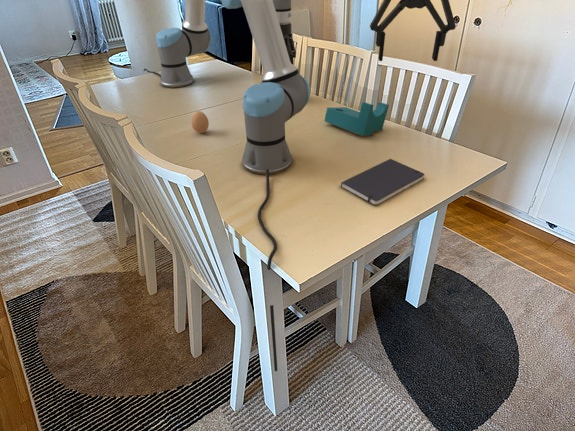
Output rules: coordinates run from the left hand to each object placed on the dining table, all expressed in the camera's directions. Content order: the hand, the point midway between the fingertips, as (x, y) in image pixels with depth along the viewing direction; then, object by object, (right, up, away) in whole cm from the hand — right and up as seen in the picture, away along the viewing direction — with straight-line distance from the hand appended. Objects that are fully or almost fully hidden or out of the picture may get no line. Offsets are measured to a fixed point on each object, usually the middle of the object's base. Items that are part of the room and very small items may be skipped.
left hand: (282, 78), depth 166 cm
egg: (-29, -27, -21) cm, 45 cm away
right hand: (+33, -16, -63) cm, 73 cm away
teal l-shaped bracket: (+26, -24, -20) cm, 41 cm away
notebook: (+29, -47, -52) cm, 76 cm away
